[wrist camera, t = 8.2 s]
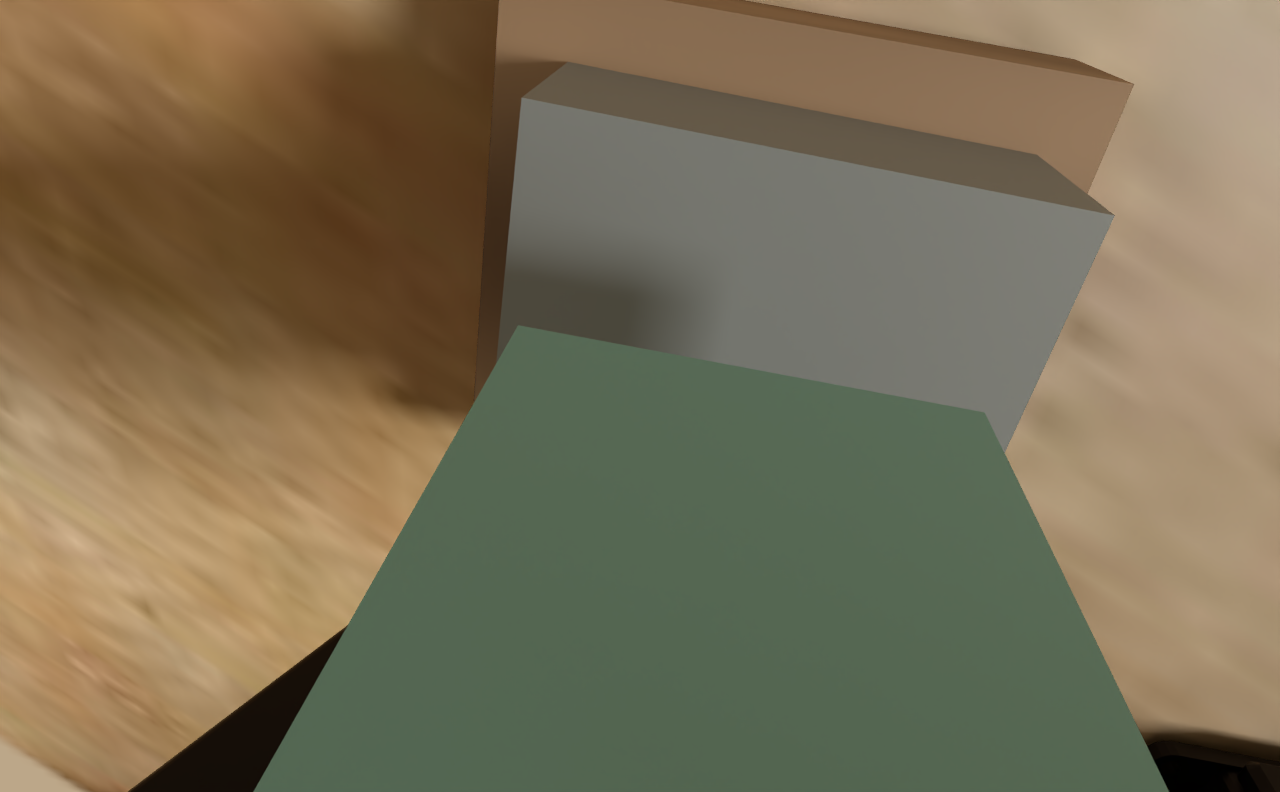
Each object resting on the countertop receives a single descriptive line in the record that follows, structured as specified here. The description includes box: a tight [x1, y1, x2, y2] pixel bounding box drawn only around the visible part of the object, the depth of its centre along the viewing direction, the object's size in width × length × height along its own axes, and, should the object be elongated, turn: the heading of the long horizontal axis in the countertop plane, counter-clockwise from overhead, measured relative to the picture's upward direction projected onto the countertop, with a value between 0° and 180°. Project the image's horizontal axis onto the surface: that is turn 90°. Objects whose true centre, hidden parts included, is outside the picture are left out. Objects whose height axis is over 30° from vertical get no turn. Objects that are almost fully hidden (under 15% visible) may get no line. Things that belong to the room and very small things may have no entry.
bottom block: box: [474, 0, 1134, 402], centre depth 15 cm, size 9×9×3 cm
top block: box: [496, 62, 1115, 453], centre depth 13 cm, size 7×7×3 cm
